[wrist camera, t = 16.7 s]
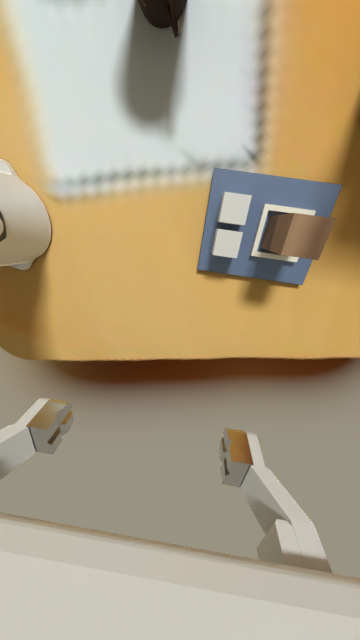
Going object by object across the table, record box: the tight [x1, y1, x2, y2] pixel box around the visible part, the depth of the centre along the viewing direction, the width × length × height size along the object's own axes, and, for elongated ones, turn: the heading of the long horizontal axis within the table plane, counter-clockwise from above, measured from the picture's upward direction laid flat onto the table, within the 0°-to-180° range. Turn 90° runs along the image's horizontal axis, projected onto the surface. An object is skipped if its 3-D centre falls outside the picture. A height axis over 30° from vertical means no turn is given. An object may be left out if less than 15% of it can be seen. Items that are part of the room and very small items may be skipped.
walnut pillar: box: [260, 213, 335, 260], centre depth 30 cm, size 5×5×10 cm
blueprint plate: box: [198, 168, 342, 285], centre depth 34 cm, size 20×16×5 cm
